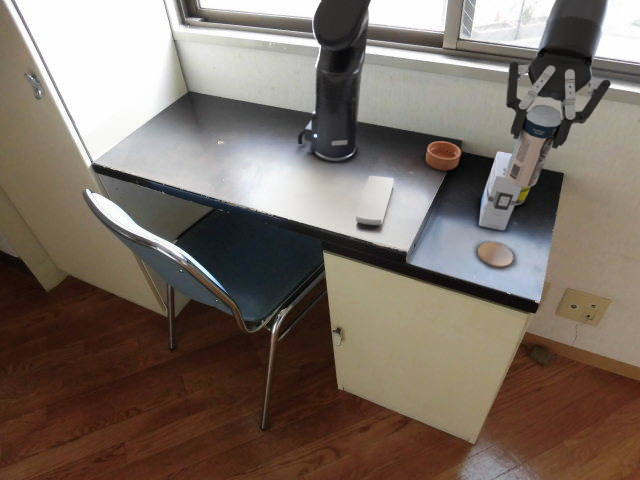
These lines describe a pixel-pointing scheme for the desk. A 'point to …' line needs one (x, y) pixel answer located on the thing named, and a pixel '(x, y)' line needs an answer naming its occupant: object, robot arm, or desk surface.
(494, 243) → the coaster
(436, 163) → the terracotta bowl
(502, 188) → the ink box
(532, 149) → the cylindrical canister
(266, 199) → the desk surface
